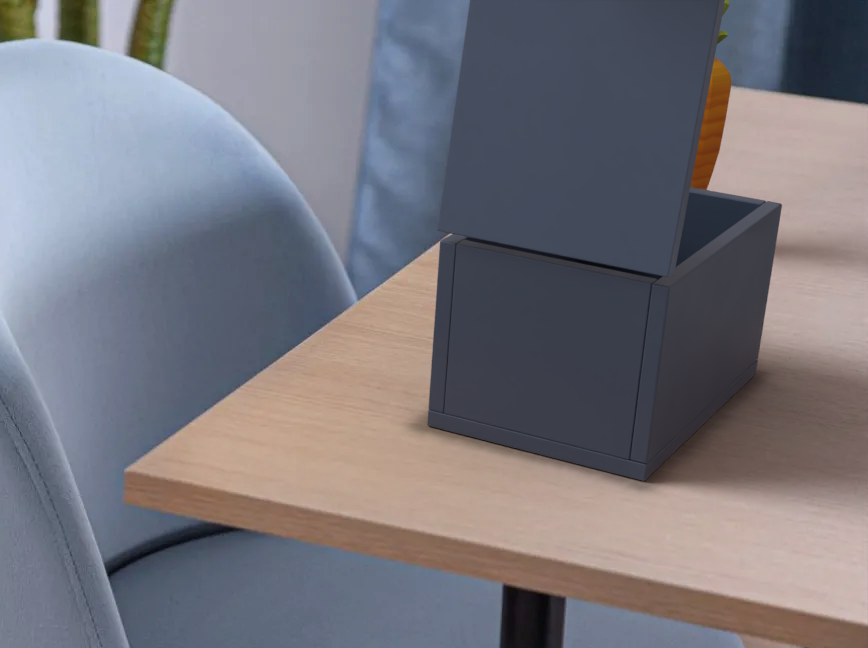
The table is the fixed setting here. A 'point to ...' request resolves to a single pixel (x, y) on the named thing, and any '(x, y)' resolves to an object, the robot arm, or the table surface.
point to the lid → (580, 126)
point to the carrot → (712, 120)
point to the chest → (602, 340)
